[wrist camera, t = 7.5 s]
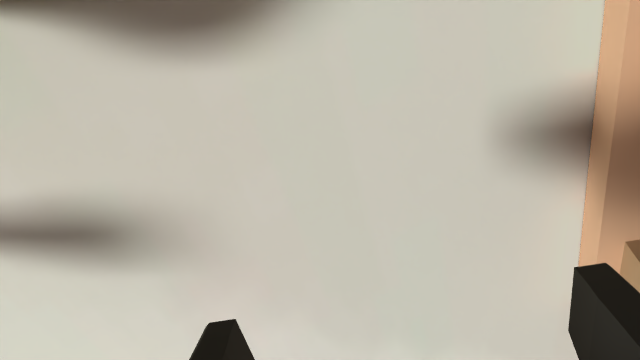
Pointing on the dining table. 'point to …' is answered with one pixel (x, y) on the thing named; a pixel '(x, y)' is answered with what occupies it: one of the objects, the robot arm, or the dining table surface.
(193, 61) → the dining table surface
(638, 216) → the display stand
